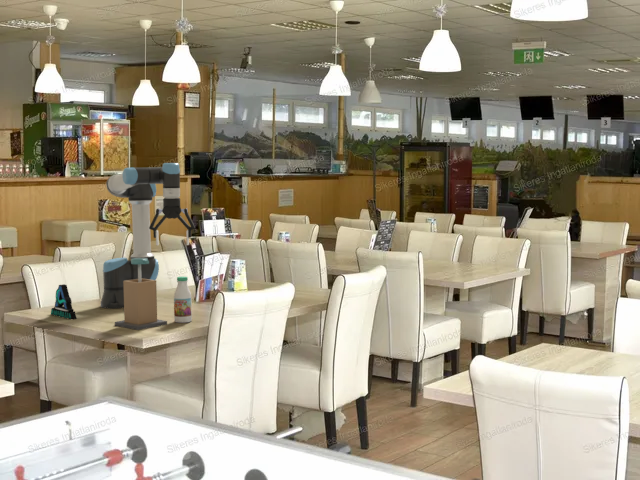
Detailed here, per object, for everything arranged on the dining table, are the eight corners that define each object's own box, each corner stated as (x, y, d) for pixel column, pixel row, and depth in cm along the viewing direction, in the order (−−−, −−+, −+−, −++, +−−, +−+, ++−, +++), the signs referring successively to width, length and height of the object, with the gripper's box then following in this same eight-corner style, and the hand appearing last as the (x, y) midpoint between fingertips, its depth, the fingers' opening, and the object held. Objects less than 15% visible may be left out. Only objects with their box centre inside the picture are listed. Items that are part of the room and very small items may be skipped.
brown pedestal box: (114, 325, 390) (113, 281, 388) (144, 320, 401) (143, 277, 400) (137, 329, 379) (135, 284, 377) (167, 324, 391) (166, 280, 389)
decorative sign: (76, 319, 406) (75, 286, 404) (71, 320, 404) (70, 287, 402) (55, 314, 419) (54, 282, 417) (50, 314, 417) (49, 283, 416)
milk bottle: (175, 320, 401) (174, 275, 399) (192, 319, 402) (191, 275, 400) (173, 323, 393) (172, 278, 391) (191, 323, 394) (190, 278, 392)
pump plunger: (128, 303, 389) (127, 259, 387) (142, 301, 394) (141, 257, 393) (142, 305, 383) (141, 260, 381) (155, 303, 388) (154, 259, 386)
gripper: (142, 198, 395) (143, 246, 397) (198, 197, 395) (199, 245, 397) (145, 197, 402) (146, 244, 404) (200, 197, 403) (201, 244, 405)
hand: (172, 245), depth 401 cm, fingers open, 13 cm apart
